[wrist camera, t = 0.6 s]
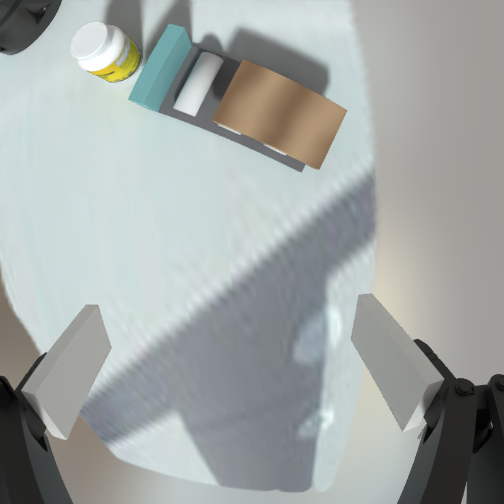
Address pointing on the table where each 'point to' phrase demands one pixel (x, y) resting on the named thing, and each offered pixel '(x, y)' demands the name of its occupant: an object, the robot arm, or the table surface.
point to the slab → (280, 113)
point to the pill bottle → (106, 52)
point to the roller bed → (193, 88)
